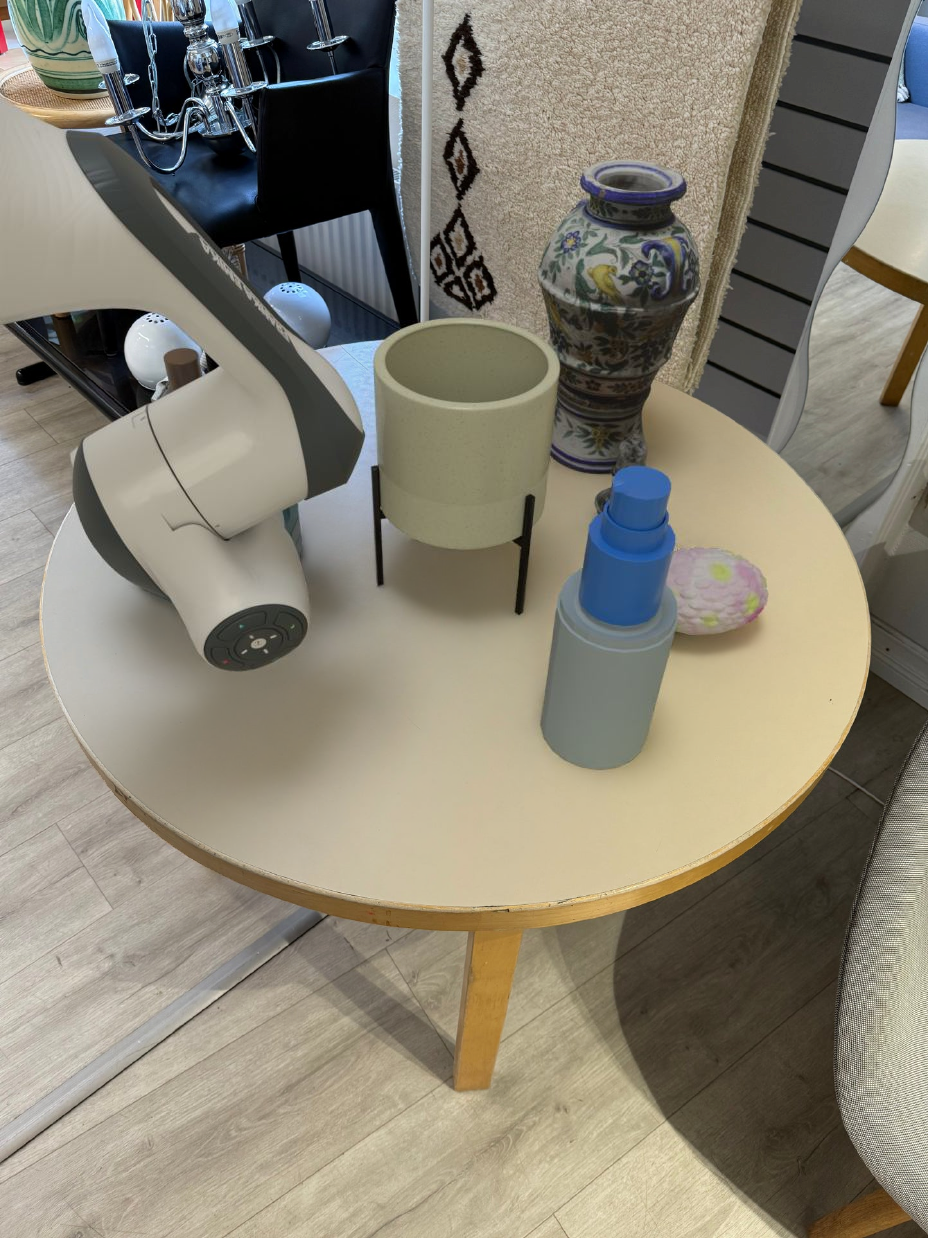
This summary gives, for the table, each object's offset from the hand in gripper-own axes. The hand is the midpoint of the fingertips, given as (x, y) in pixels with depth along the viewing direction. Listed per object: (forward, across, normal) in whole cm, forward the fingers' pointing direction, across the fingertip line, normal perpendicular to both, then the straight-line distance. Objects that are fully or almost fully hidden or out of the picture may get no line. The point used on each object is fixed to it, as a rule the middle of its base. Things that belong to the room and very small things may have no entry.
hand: (192, 413), depth 79 cm
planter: (-10, -21, +17) cm, 29 cm away
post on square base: (-1, 0, +8) cm, 9 cm away
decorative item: (-23, -40, +17) cm, 49 cm away
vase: (+7, -44, +17) cm, 48 cm away
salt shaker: (-9, -40, +17) cm, 44 cm away
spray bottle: (-32, -26, +17) cm, 44 cm away
